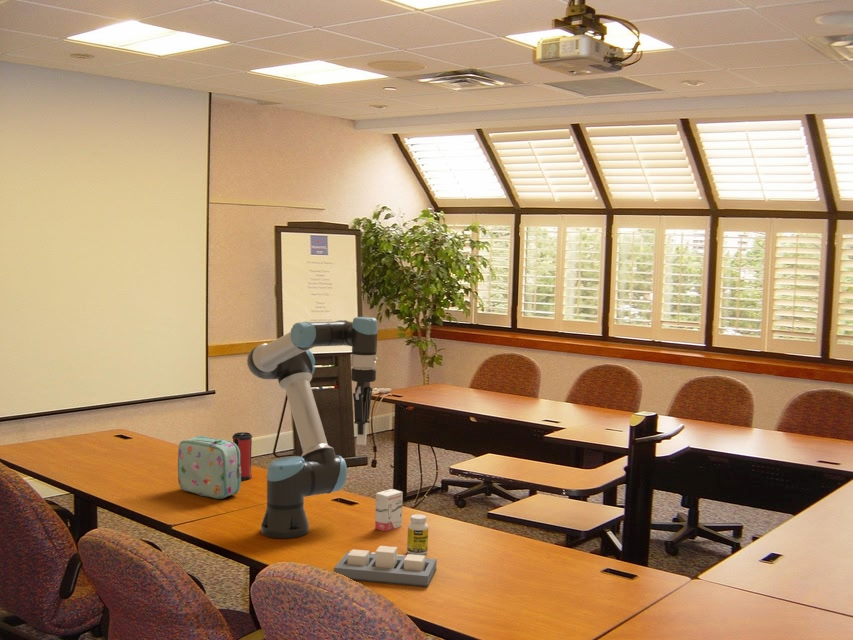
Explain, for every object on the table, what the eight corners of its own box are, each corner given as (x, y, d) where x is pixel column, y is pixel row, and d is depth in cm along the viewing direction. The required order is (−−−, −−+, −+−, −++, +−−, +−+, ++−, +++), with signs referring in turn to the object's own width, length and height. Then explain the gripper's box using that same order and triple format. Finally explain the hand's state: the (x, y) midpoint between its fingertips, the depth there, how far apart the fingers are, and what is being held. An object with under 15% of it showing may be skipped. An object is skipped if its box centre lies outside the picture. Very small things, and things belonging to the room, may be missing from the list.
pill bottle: (412, 557, 253) (413, 520, 252) (403, 550, 258) (404, 514, 257) (431, 554, 256) (432, 517, 255) (421, 548, 261) (422, 512, 260)
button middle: (375, 567, 236) (375, 551, 236) (379, 561, 241) (380, 545, 241) (393, 568, 235) (393, 552, 235) (397, 562, 240) (397, 547, 240)
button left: (347, 570, 237) (347, 554, 237) (352, 564, 242) (352, 549, 242) (364, 572, 237) (365, 556, 236) (369, 566, 241) (369, 550, 241)
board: (333, 578, 234) (334, 567, 233) (347, 561, 247) (348, 551, 247) (427, 587, 229) (427, 576, 229) (436, 569, 243) (436, 559, 242)
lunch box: (246, 497, 314) (247, 439, 313) (225, 503, 305) (226, 443, 304) (195, 485, 328) (196, 430, 327) (174, 491, 319) (175, 434, 318)
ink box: (385, 532, 276) (386, 496, 275) (374, 529, 279) (374, 493, 278) (402, 526, 283) (403, 491, 282) (391, 523, 286) (392, 488, 285)
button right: (403, 576, 235) (404, 559, 234) (407, 569, 239) (407, 554, 239) (421, 577, 234) (421, 561, 233) (424, 571, 239) (425, 555, 238)
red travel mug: (249, 481, 337) (249, 435, 336) (229, 480, 337) (230, 435, 336) (253, 476, 345) (254, 432, 344) (234, 475, 345) (235, 431, 344)
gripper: (369, 371, 253) (367, 449, 255) (381, 366, 266) (378, 441, 267) (345, 369, 255) (343, 447, 256) (358, 364, 267) (355, 439, 269)
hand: (361, 444), depth 262 cm, fingers closed
